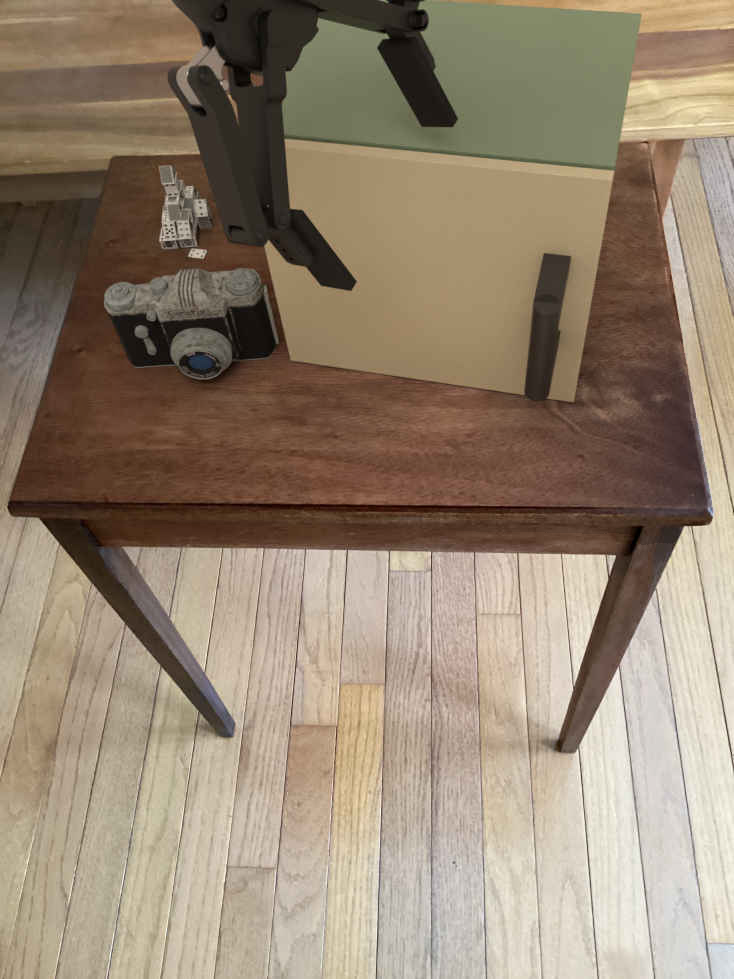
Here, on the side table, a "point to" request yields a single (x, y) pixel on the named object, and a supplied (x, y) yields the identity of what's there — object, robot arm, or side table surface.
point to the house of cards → (182, 214)
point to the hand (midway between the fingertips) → (390, 201)
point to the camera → (194, 320)
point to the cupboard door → (445, 266)
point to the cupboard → (476, 85)
